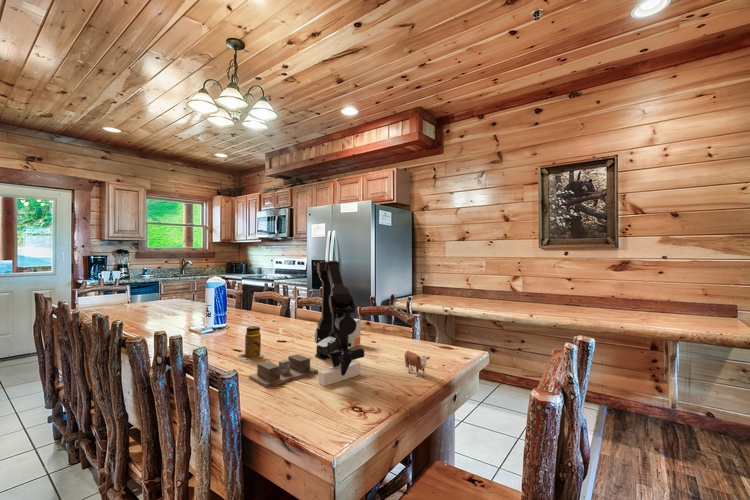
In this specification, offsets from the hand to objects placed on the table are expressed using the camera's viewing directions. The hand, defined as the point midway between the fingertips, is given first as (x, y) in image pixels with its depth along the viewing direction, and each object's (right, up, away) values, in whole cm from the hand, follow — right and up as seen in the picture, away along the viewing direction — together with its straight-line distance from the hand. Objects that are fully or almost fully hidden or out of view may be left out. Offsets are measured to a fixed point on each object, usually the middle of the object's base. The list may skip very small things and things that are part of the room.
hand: (340, 374), depth 119 cm
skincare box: (+2, -2, +43) cm, 43 cm away
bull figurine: (+27, -2, +4) cm, 27 cm away
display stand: (-20, -1, +3) cm, 20 cm away
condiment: (-40, -2, +25) cm, 47 cm away
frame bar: (0, -2, 0) cm, 2 cm away
